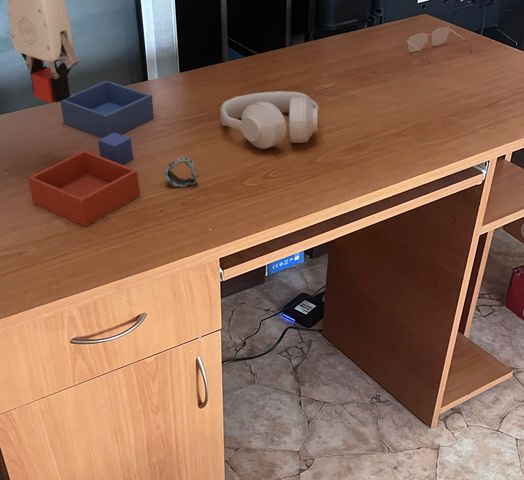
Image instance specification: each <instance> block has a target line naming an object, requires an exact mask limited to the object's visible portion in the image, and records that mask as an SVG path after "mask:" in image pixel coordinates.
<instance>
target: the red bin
mask: <svg viewBox="0 0 524 480" xmlns="http://www.w3.org/2000/svg"><path fill="white" fill-rule="evenodd" d="M27 180H28V183H29V188H30V194H31V199H32V202H33V203H32V204H34V205H36V206H39V207H41V208H42V209H45V210H47V211H49V212H52V213H54V214H56V215H58V216H61V217H63V218H65V219H67V220H70V221H72V222H74V223H76V224H78V225H80V226H83V227H86V228H87V227H88V226H90V225H93V223H95V222H97V221H99V220H100V219H102V218H104V217H106V216H108V215H109V214H111V213H113V212H115V211H116V210H118V209H119V208H121V207H123V206H125V205H127V204H129V203H130V202H132V201H134V200H135V199H138V198H139V197H141V192H140V184H139V174H138V170H137V169H134V168H131V167H129V166H126V165H124V164H123V165H121V164H119V163H116V162H114V161H111V160H108V159H106V158H103V157H101V156H100V155H99V154H95V153H94V152H93V153H92V152H90V151H87V150H85V149H84V150H82V151H80V152H77V153H76V154H73V155H71V156H69V157H67V158H65V159H64V160H61V161H59V162H57V163H55V164H52V165H50V166H49V167H47V168H45V169H43V170H41V171H39V172H37V173H35V174H32V175H31V176H28V177H27Z"/></svg>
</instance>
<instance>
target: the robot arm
mask: <svg viewBox="0 0 524 480" xmlns="http://www.w3.org/2000/svg"><path fill="white" fill-rule="evenodd" d="M7 14H8V15H7V16H8V24H9V25H8V26H9V31H10V32H9V33H10V38H11V43H12V46H13V49H14V50H16V52H18V53H20V54H21V56H22V58H23V59H24V61H25V62H26V63H25V64H26V65H25V66H26V69H27V70H28V71H29V72H30V80H31V85H32V91H33V94H34V95H35V93H34V87H33V81H32V75H31V74H32V73H35V72H38V71H41V70H43V69H46V68H48V67H50V69H51V73H52V76H53V78H50V81H51V88H52V94H53V100H54V102H53V103H59V102H60V101H62V100H65V99H67V98H69V97H70V96H71V92H70V91H71V90H70V86H69V77H68V75H70V73H71V72H70V71H71V70H72V69H73V68H74V67H75V66H77V65H78V64H79V60H78V57H77V55H76V53H75V52H74V38H73V32H72V27H71V20H70V16H69V13H68V8H67V4H66V0H7ZM45 62H47V63H48V66H47V65H45ZM58 62H59V65H58V64H57V63H58Z"/></svg>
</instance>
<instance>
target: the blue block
mask: <svg viewBox="0 0 524 480" xmlns="http://www.w3.org/2000/svg"><path fill="white" fill-rule="evenodd" d="M97 143H98V149H99V156H101V157H103V158H106V159H108V160H111V161H114V162H116V163H119V164H121V165H124V164H126V163H128V162H131V161H133V160H134V156H133V155H134V154H133V147H132V138H131V137H130V136H129V137H128V136H126V135H123V134H118V133H115V132H114V133H112V134H110V135H108V136H106V137H104V138H102V137H101V138H100V139H98V142H97Z"/></svg>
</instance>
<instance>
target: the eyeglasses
mask: <svg viewBox="0 0 524 480" xmlns="http://www.w3.org/2000/svg"><path fill="white" fill-rule="evenodd" d="M450 32H452V33H453V34H455V35H456V36H458V37H459V38H461V39H463V40H464V41H465V42H467V43H468V45H469V50H470V53H472V52H473V51H472V46H471V43H470V42H469V41H468V40H467V39H465V38H464V37H462V36H461V35H460V34H459V33H457V32H455V31H454V30H453V29H451V28H450V27H448V26H445V27H439V28H437V29H435V30H433V32H432V33H429V34H428V33H426V32H420V33H417V34H413V35H412V36H410V37H409V39H408V40H406V42H407V44H408V45H407V46H408V49H407V50H408V52H410V53H414V52H417V51H419V52H421V53H422V54H423V55H425V56H426V58H427V61H428V64H431V62H430V59H429V56H428V55H427V53H426V52H424V51H422V50H421V49H423V48H424V46H425V45H426V44H427V43H428V41H429V38H428V37H429V36H431V37H430V39H431V46H441V45H443V44H444V43H445V42H446V41H447V39H448V38H449V37H448V36H449V34H450Z"/></svg>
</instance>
